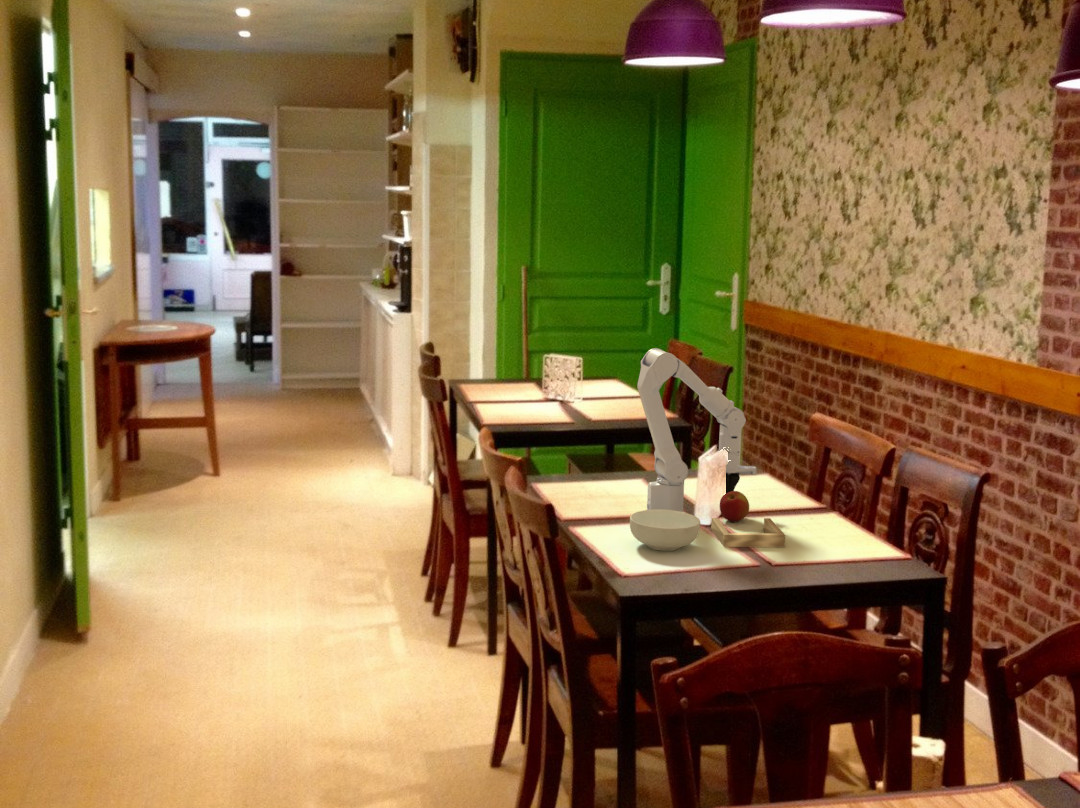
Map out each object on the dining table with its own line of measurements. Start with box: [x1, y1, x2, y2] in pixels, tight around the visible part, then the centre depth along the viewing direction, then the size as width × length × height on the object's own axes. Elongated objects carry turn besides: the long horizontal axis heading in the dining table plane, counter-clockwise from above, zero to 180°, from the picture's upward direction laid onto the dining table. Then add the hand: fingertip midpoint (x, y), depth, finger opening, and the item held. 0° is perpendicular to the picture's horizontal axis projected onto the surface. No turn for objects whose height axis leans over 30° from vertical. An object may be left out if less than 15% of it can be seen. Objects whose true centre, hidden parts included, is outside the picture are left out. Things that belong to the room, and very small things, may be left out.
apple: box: [719, 490, 750, 523], centre depth 330 cm, size 8×8×8 cm
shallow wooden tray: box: [710, 517, 786, 548], centre depth 315 cm, size 15×16×3 cm
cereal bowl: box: [629, 509, 701, 552], centre depth 306 cm, size 17×17×7 cm
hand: (727, 500), depth 339 cm, fingers closed
